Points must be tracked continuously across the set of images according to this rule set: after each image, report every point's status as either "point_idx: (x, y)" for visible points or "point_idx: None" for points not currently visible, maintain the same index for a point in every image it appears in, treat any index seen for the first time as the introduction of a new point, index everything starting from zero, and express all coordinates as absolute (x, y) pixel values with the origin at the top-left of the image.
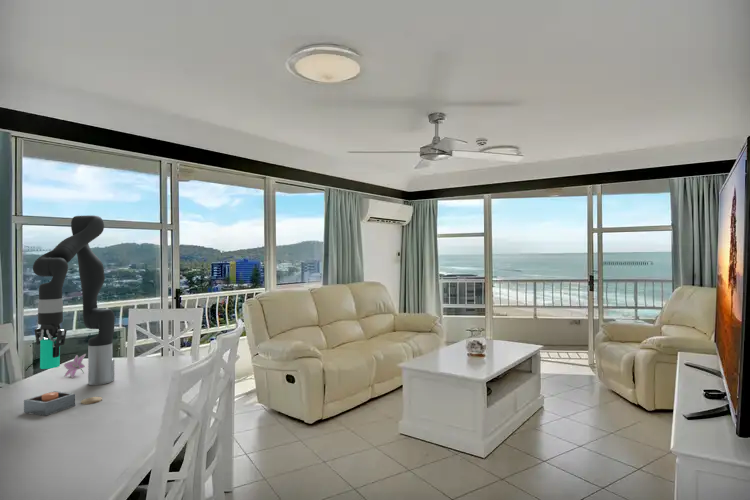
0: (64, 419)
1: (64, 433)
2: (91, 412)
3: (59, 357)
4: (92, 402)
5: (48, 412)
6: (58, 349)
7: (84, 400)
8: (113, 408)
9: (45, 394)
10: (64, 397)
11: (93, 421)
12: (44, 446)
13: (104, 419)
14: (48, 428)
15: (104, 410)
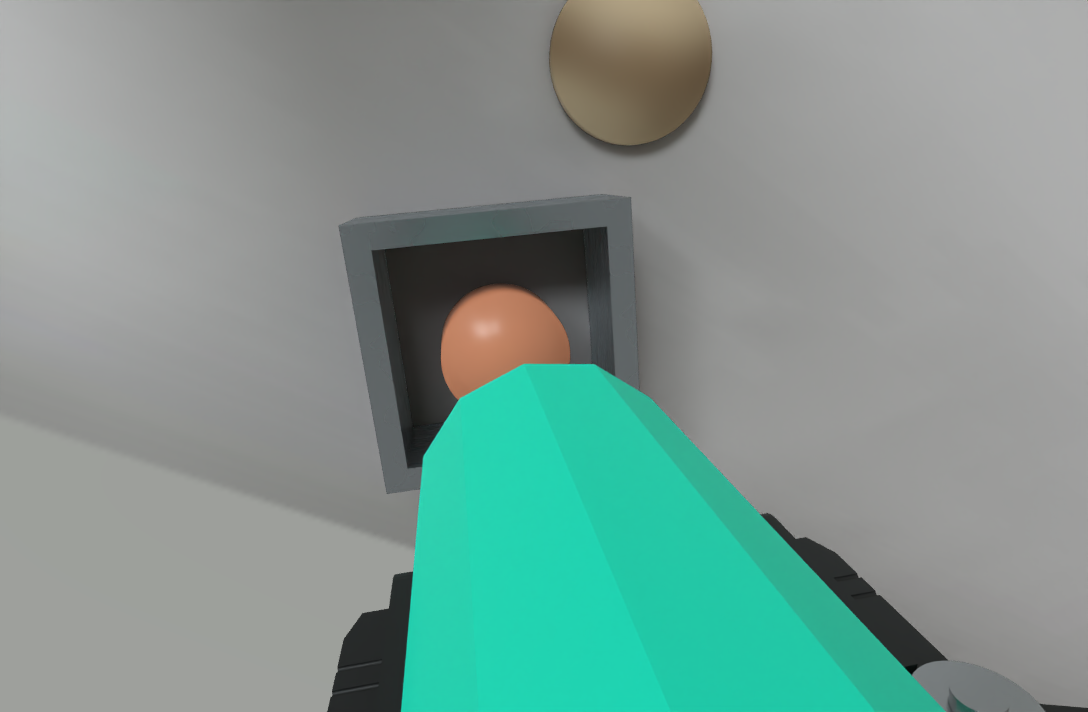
0: (798, 396)
1: (982, 505)
2: (856, 241)
3: (710, 463)
4: (698, 102)
5: None
6: (909, 649)
7: (591, 98)
8: (941, 115)
9: (472, 380)
10: (634, 300)
11: (997, 338)
12: (1017, 615)
13: (1037, 289)
14: (839, 509)
15: (911, 174)
